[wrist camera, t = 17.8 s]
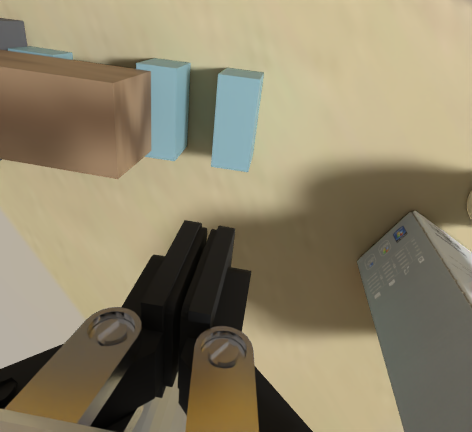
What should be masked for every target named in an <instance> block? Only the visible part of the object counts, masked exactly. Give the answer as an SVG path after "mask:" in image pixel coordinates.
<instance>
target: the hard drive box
mask: <svg viewBox="0 0 472 432" xmlns="http://www.w3.org/2000/svg"><path fill="white" fill-rule="evenodd" d="M357 264H358V268H359V271H360V275H361V279H362V282H363V286H364V289H365V293H366V297H367V300H368V304H369V307H370V311H371V315H372V318H373V322H374V325H375V329H376V332H377V336H378V339H379V343H380V346H381V350H382V353H383V357H384V361H385V364H386V368H387V371H388V375H389V378H390V382H391V386H392V389H393V393H394V396H395V400H396V403H397V407H398V411H399V414H400V418H401V421H402V425H403V429H404V432H472V252H471V251H469V250H468V249H467V248H465V247H464V246H463V245H461V244H460V243H459V242H457V241H456V240H455V239H453V238H452V237H451V236H449V235H448V234H447V233H446V232H444V231H443V230H441V229H440V228H439V227H437V226H436V225H434V224H433V223H432V222H430V221H429V220H428V219H426V218H425V217H424V216H422V215H421V214H419V213H418V212H417V211H414V212H409V213H408V214H407V215H406V216H405V217H404V218H403V219H402V220H400V221H399V222H398V223H397V224H396V225H395V226H394V227H393V228H392V229H391V230H390V231H389V232H388V233H387V234H385V235H384V236H383V237H382V238H381V239H380V240H379V241H378V242H377V243H376V244H375V245H374V246H373V247H371V248H370V249H369V250H368V251H367V252H366V253H365V254H364V255H363V256H362V257H361V258H360V259H359V260H358V261H357Z"/></svg>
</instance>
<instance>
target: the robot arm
mask: <svg viewBox="0 0 472 432" xmlns="http://www.w3.org/2000/svg"><path fill="white" fill-rule="evenodd" d="M234 236H235V228H230V227H223V226H218V229H217V230H215V229H211V232H210V234H209V237H208V240H207V228H202V223H199V222H192V221H186V220H185V221H184V222H183V224H182V226H181V228H180V230H179V232H178V234H177V235H176V237H175V239H174V241H173V243H172V245H171V247H170V248H169V250H168V252H167V254H166V256H159V255H153V256H152V257H151V258H150V260H149V262H148V263H147V265H146V267H145V268H144V270H143V272H142V273H141V275H140V277H139V279H138V280H137V282H136V284H135V285H134V287H133V289H132V290H131V292H130V294H129V295H128V297H127V299H126V300H125V302H124V304H123V305H122V307H112V308H107V309H103V310H100V311H98V312H96V313H94V314H93V315H91V316H90V317H89V318H88V319H87V320H86V321H85V322H84V323H83V324H82V325H81V326H80V327H79V328H78V329H77V330H76V331H75V333H74V334H73V335H72V336H71V337H70V338H69V339H68V340H67V341H66V342H65V343H64V344H62V345H59V346H57V347H54V348H52V349H50V350H47V351H44V352H42V353H39V354H37V355H34V356H32V357H29V358H27V359H25V360H22V361H19V362H17V363H14V364H12V365H9V366H7V367H4V368H2V369H0V432H313V431H312V430H311V429H310V428H309V427H308V426H307V425H306V424H305V422H304V421H303V420H302V419H301V418H300V417H299V416H298V414H297V413H296V412H295V411H294V410H293V409H292V408H291V407H290V405H289V404H288V403H287V402H286V401H285V400H284V399H283V398H282V396H281V395H280V394H279V393H278V392H277V391H276V390H275V388H274V387H273V386H272V385H271V384H270V383H269V382H268V381H267V379H266V378H265V377H264V376H263V375H262V374H261V373H260V372H259V370H258V369H257V368H256V367H255V366H254V353H253V347H252V343H251V341H250V340H249V339H248V337H247V336H246V335H245V334H244V333H242V326H243V320H244V314H245V307H246V301H247V295H248V288H249V282H250V276H251V271H248V270H242V269H237V268H231V260H232V252H233V244H234ZM206 241H207V242H206Z"/></svg>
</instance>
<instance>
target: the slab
mask: <svg viewBox="0 0 472 432" xmlns="http://www.w3.org/2000/svg"><path fill="white" fill-rule="evenodd" d="M150 151H151V71H147V70H139V69H132V68H125V67H118V66H111V65H104V64H97V63H90V62H83V61H76V60H69V59H62V58H55V57H48V56H41V55H34V54H27V53H20V52H13V51H6V50H0V159H5V160H10V161H16V162H22V163H28V164H34V165H40V166H45V167H51V168H57V169H63V170H69V171H75V172H80V173H86V174H92V175H98V176H104V177H110V178H115V179H118V178H120V177H121V176H122V175H123V174H124V173H126V172H127V171H128V170H129V169H130V168H132V167H133V166H134V165H135V164H136V163H137V162H139V161H140V160H141V159H142V158H143V157H145V156H146V155H147V154H148V153H149V152H150Z"/></svg>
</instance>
